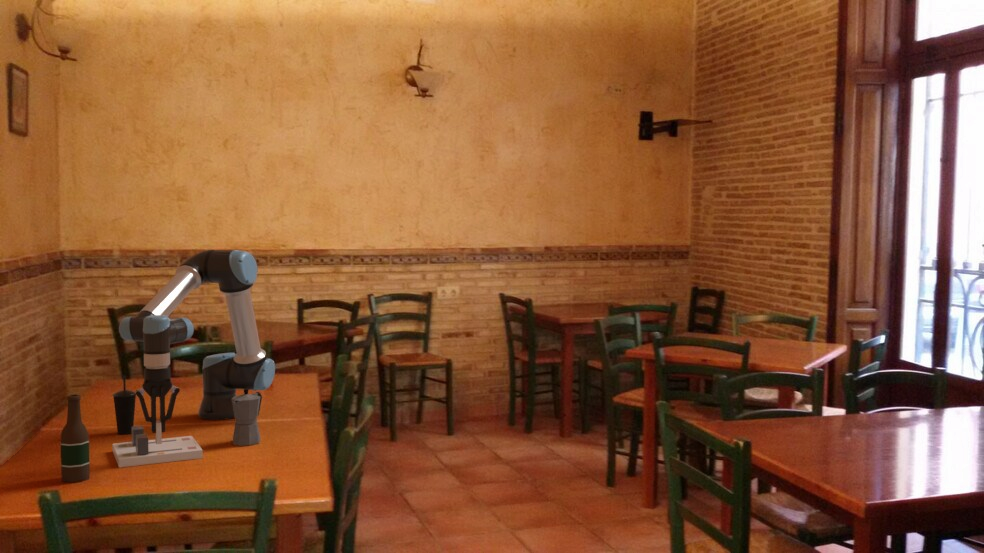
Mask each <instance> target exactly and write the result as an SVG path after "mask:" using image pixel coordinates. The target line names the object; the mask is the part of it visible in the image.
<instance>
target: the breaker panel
mask: <svg viewBox="0 0 984 553" xmlns="http://www.w3.org/2000/svg"><path fill="white" fill-rule="evenodd" d="M203 452H204V450H203V449H202V447H201V446H200V444H199V443H198V442H197V441H196V439H195V438H194V437H193V435H187V436H175V437H167V438H162V444H156V442H155V439H148V454H142V455H138V454H137V452H136V445H135V446H134V445H133V443H132V441H126V442H118V443H112V453H113V455H114V456H113V457H114V458H115V461H116V463H117V466H118V468H120V469H121V468H125V467H126V468H127V467H137V466H144V465H146V466H147V465H153V464H163V463H172V462H180V461H187V460H188V461H191V460H198V459H199V460H200V459H203V458H204V453H203Z"/></svg>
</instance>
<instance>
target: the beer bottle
mask: <svg viewBox="0 0 984 553" xmlns="http://www.w3.org/2000/svg"><path fill="white" fill-rule="evenodd" d="M80 395H81V394H75V393H74V394H69V395H67V397H66V401H67V411H66V412H67V417H66V423H65V425H64V427H63V428H62V430H61V433H60V472H61V473H60V474H61V482H62V483H68V484H69V483H70V484H73V483H80V482H81V483H82V482H84V481H88V480H89V479H90V477H91V476H90V475H91V474H90V470H91V469H90V468H91V467H90V465H91V464H90V463H91V462H90V438H89V437H90V436H89V432H88V429H87V427H86V426H85V424H84V423H83V421H82V414H81V413H82V412H81V396H80Z"/></svg>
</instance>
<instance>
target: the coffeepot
mask: <svg viewBox="0 0 984 553" xmlns="http://www.w3.org/2000/svg"><path fill="white" fill-rule="evenodd" d="M249 391H250V390H249V389H243V394H239V395H236V396H235V397H233V398H232V405H233V411H234V417H235V418H234V419H235V425H234V429H233V436H232V441H231V442H232V443H231V444H233V445H234V446H237V445H238V446H239V447H248V446H247V445H251V446H255V445H254V444H256V445H258V444H260V443H261V433H260V430H259V423H258V417H259V415H260V410H261V405H262V399H263V395H262V394H261V392H259V391H255V392H253V393H250V394H249ZM259 442H260V443H259ZM238 446H237V447H238Z"/></svg>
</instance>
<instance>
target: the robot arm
mask: <svg viewBox="0 0 984 553" xmlns="http://www.w3.org/2000/svg"><path fill="white" fill-rule="evenodd" d="M258 272H259V271H258V265H257V260H256V259H255V257H254V256H253V255H252V254H251V253H250V252H248V251H247V250H246V251H245V250H240V249H234V250H233V249H231V250H230V249H228V250H225V249H216V250H215V249H207V250H202V251H199V252H198V253H195V254H193V255H192V256H190V257H188V258H187V259H186V260H185V261H183V262H182V263H181V264H180V265H179V266H178V267H177V268H176V270H175V272H174V276H172V278H170V280H169V281H168V282H167V283H166V284H165V285H164V286H163V287H162V288H161V289H160V290H159V291H158V292H157V293H156V294H155V295H154V297H152V298H151V299H150V300H149V302H147V303H146V305H144V307H143V308H142V309H141V310H140V311H139V312H138V313H137V314H136V315H135V316H132V315H131V316H126V317H123V318H122V319H121V320H120V322H119V326H118V333H119V335H120V337H121V338H122V339H123V340H125V341H133V342H143V366H144V368H143V383H142V387H140V388H139V389H136V390H135V391H134V392H135V393H136V397H138V400H139V403H140V406H141V410H142V412H143V417H144V420H145V422H148V423H149V422H150V426H151V433H152V434H155V437H154V438H155V439H154V440H155V442H156V444H162V439H163V438H162V436H163V435H162V433H165V432H166V422H167V421H168V420H171V419H172V417H173V413H174V408H175V403H176V399H177V396H178V394H179V392H180V391H181V388H179V387H178V386H175V385H174V384H173V382H172V380H171V367H170V365H171V345H172V344H177V343H183V342H185V341H187V340H190V339H191V338H192V336H193V335H194V331H195V329H194V328H195V327H194V325H193V323H192V321H191V320H190V319H189V318H187V317H176V318H170V317H169V316H170V315H171V313H172V312H174V310H175V309H176V308H177V307H178V306H179V305H180V304H181V303H182V302H183V301H184V300H185V299H186V297H187V296H188V295H189V294H190V293H191V292H192V291H193V290H196V289H199V288H200V287H201V285H204V284H209V283H210V284H218V288H219V291H220V292H221V293H222V294H223V295H225V299H226V306H227V310H228V316H229V320H230V326H231V330H232V336H233V341H234V346H235V350H236V353H235V352H224V353H217V354H212V355H207V356H205V357H204V358H203V360H202V385H203V386H202V391H203V393H202V399H201V402H200V405H199V409H198V418H199V419H202V420H208V421H220V420H229V419H231V420H232V419H236V418H235V417H234V411H233V405H232V398H233V397H235V396H237V395H236V393H237V390H244V389H249V390H248V391H255V392H258V391H265V390H268V389H269V388H270V386H271V384H272V383H273V381H274V378H275V373H276V364H275V361H274V360H273V359H272V358H270V357H269V358H268V357H267V352H266V350H265V349H263V348H261V343H260V338H259V333H258V331H259V330H258V326H257V321H256V315H255V310H254V305H253V301H252V295H251V289H252V287H253V286H254V283H255V282H256V280H257V277H258V274H257V273H258ZM169 391H170V393H171V394H170V399H169V402H168V406H167V407H168V408H167V411H166V395H167V394H168V393H169ZM145 392H146V393H147V395H148V396H149V397H150V414H149V412H148V408H147V404H146V401H145V398H144V395H145ZM157 398H159V419H160V420H157Z"/></svg>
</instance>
